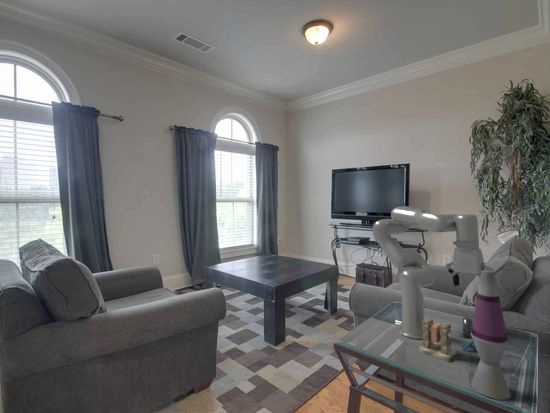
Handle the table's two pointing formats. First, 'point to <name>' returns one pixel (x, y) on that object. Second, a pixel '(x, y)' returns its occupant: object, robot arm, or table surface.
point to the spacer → (435, 332)
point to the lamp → (489, 339)
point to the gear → (467, 344)
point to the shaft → (466, 331)
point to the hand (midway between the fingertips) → (469, 287)
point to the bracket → (433, 348)
